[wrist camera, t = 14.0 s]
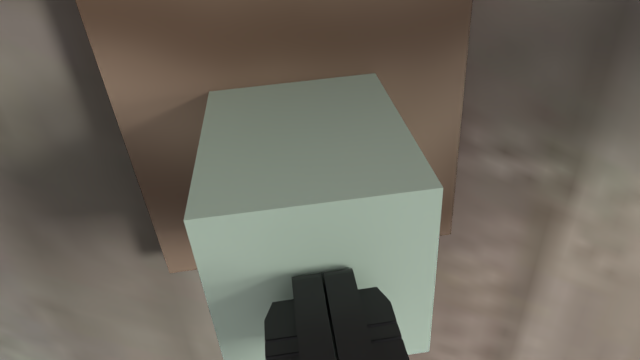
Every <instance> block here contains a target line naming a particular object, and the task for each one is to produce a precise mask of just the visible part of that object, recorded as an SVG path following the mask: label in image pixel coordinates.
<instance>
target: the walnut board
mask: <svg viewBox="0 0 640 360" xmlns="http://www.w3.org/2000/svg"><path fill="white" fill-rule="evenodd" d="M75 1H76V4H77V7H78V10H79V13H80V16H81V19H82V21H83V24H84V27H85V30H86V33H87V36H88V39H89V42H90V45H91V47H92V50H93V53H94V56H95V59H96V62H97V65H98V68H99V71H100V73H101V76H102V79H103V82H104V85H105V88H106V91H107V94H108V97H109V99H110V102H111V105H112V108H113V111H114V114H115V117H116V120H117V123H118V125H119V128H120V131H121V134H122V137H123V140H124V143H125V146H126V148H127V151H128V154H129V157H130V160H131V163H132V166H133V169H134V172H135V174H136V177H137V180H138V183H139V186H140V189H141V192H142V195H143V198H144V200H145V203H146V206H147V209H148V212H149V215H150V218H151V221H152V224H153V226H154V229H155V232H156V235H157V238H158V241H159V244H160V247H161V250H162V252H163V255H164V258H165V261H166V264H167V267H168V270H169V273H175V272H182V271H189V270H197V265H196V262H195V258H194V255H193V252H192V248H191V245H190V241H189V238H188V234H187V231H186V227H185V224H184V216H185V211H186V205H187V200H188V195H189V190H190V185H191V180H192V175H193V170H194V165H195V160H196V155H197V150H198V145H199V140H200V135H201V130H202V125H203V120H204V115H205V110H206V105H207V100H208V95H209V92H210V91H219V90H228V89H237V88H246V87H255V86H264V85H273V84H282V83H291V82H300V81H309V80H318V79H327V78H336V77H345V76H354V75H363V74H372V73H375V74H376V75H377V77H378V79H379V80H380V82H381V84H382V85H383V87H384V89H385V90H386V92H387V94H388V96H389V97H390V99H391V101H392V102H393V104H394V106H395V107H396V109H397V111H398V112H399V114H400V116H401V117H402V119H403V121H404V122H405V124H406V126H407V127H408V129H409V131H410V132H411V134H412V136H413V138H414V139H415V141H416V143H417V144H418V146H419V148H420V149H421V151H422V153H423V154H424V156H425V158H426V159H427V161H428V163H429V164H430V166H431V168H432V169H433V171H434V173H435V174H436V176H437V178H438V180H439V181H440V183H441V185H442V186H443V198H442V209H441V221H440V232H439V236H442V235H449V234H451V226H452V215H453V204H454V194H455V183H456V172H457V161H458V151H459V140H460V129H461V118H462V108H463V97H464V86H465V76H466V65H467V54H468V43H469V33H470V22H471V11H472V0H75Z"/></svg>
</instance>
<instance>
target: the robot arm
mask: <svg viewBox="0 0 640 360" xmlns="http://www.w3.org/2000/svg"><path fill="white" fill-rule="evenodd" d="M323 278H324V288H325V294H324V289H323V283H322V277H321V273H316V274H309V275H302V276H295V277H292V288H293V298H294V299H290V300H283V301H277V302H272V304H271V307H270V309H269V311H268V313H267V315H266V318H265V320H264V331H265V359H266V360H409V357H408V354H407V351H406V348H405V345H404V342H403V340H402V335H401V332H400V329H399V326H398V324H397V320H396V317H395V314H394V311H393V308H392V304H391V302H390V300H389V299H388V298H387V297H386V296H385V295H384V294H383V293H382V292H381V291H380V290H379V289H378V287H372V288H365V289H358V288H357V284H356V280H355V276H354V272H353V269H352V268H350V269H343V270H336V271H329V272H323ZM325 298H326V300H325Z"/></svg>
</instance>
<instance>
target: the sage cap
mask: <svg viewBox="0 0 640 360" xmlns="http://www.w3.org/2000/svg"><path fill="white" fill-rule="evenodd" d="M442 198H443V186H442V185H441V183H440V181H439V180H438V178H437V176H436V174H435V173H434V171H433V169H432V168H431V166H430V164H429V163H428V161H427V159H426V158H425V156H424V154H423V153H422V151H421V149H420V148H419V146H418V144H417V143H416V141H415V139H414V138H413V136H412V134H411V132H410V131H409V129H408V127H407V126H406V124H405V122H404V121H403V119H402V117H401V116H400V114H399V112H398V111H397V109H396V107H395V106H394V104H393V102H392V101H391V99H390V97H389V96H388V94H387V92H386V90H385V89H384V87H383V85H382V84H381V82H380V80H379V79H378V77H377V75H376V74H375V73H372V74H363V75H354V76H345V77H336V78H327V79H318V80H309V81H300V82H291V83H282V84H273V85H264V86H255V87H246V88H237V89H228V90H219V91H210V92H209V95H208V100H207V105H206V110H205V115H204V120H203V125H202V130H201V135H200V140H199V145H198V150H197V155H196V160H195V165H194V170H193V175H192V180H191V185H190V190H189V195H188V200H187V205H186V211H185V216H184V224H185V227H186V231H187V234H188V238H189V241H190V245H191V248H192V252H193V255H194V258H195V262H196V265H197V269H198V272H199V276H200V279H201V283H202V286H203V290H204V293H205V297H206V300H207V304H208V307H209V311H210V314H211V317H212V321H213V324H214V328H215V331H216V335H217V338H218V342H219V345H220V349H221V352H222V356H223V359H224V360H266V359H265V331H264V320H265V318H266V315H267V313H268V311H269V309H270V307H271V304H272V302H277V301H283V300H290V299H294V298H293V288H292V277H295V276H302V275H309V274H316V273H321V277H322V283H323V289H324V294H325V288H324V278H323V272H329V271H336V270H343V269H350V268H352V269H353V272H354V276H355V280H356V284H357V288H358V289H365V288H372V287H378V289H379V290H380V291H381V292H382V293H383V294H384V295H385V296H386V297H387V298H388V299H389V300H390V302H391V304H392V308H393V311H394V314H395V317H396V320H397V324H398V326H399V329H400V332H401V335H402V340H403V342H404V345H405V348H406V351H407V354H408V355H410V354H416V353H423V352H429V348H430V337H431V325H432V313H433V302H434V290H435V279H436V267H437V256H438V244H439V232H440V221H441V209H442ZM325 300H326V298H325Z"/></svg>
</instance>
